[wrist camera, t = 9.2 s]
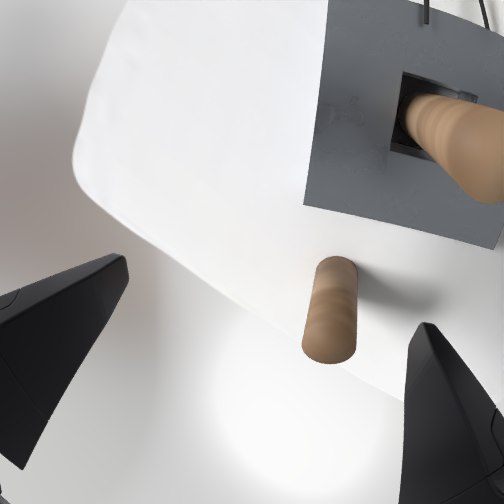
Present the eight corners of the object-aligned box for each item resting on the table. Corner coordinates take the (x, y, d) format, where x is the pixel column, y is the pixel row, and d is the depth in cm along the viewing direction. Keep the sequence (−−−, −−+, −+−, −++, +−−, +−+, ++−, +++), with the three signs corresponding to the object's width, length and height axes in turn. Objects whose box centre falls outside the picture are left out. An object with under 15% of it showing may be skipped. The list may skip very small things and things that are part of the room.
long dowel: (449, 100, 14) (538, 128, 6) (439, 146, 16) (514, 213, 8) (402, 85, 15) (462, 94, 7) (394, 134, 17) (440, 189, 8)
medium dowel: (361, 261, 21) (363, 332, 16) (351, 294, 23) (347, 368, 17) (320, 252, 22) (307, 321, 16) (312, 286, 24) (297, 358, 18)
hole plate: (517, 57, 11) (541, 57, 9) (478, 227, 18) (493, 250, 15) (331, -2, 13) (329, -16, 11) (308, 186, 20) (303, 204, 17)
